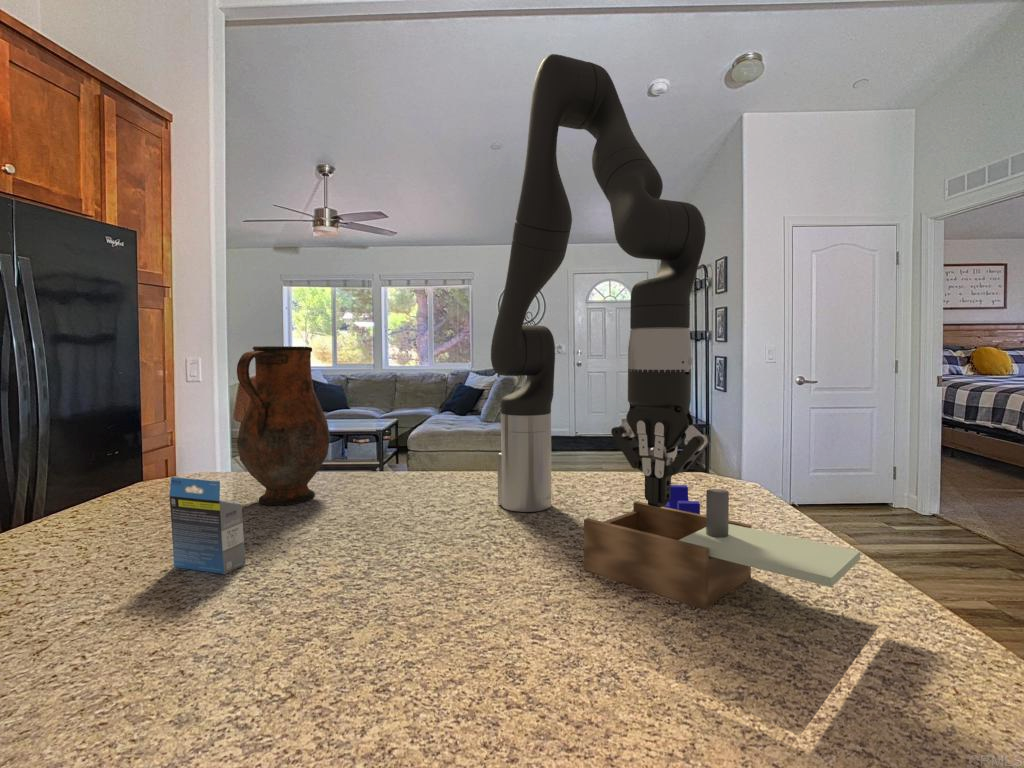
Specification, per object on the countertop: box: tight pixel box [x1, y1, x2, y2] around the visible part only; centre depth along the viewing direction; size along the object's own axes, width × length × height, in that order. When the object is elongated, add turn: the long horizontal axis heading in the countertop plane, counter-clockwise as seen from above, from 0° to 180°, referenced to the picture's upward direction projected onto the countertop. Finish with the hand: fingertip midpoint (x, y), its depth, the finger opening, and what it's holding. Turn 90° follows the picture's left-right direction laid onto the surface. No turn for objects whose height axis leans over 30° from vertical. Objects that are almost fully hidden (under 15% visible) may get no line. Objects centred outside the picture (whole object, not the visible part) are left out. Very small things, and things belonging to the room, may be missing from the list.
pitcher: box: [236, 345, 331, 506], centre depth 108 cm, size 17×21×30 cm
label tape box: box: [169, 475, 246, 575], centre depth 75 cm, size 9×4×12 cm, turn 71°
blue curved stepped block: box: [663, 484, 701, 514], centre depth 89 cm, size 12×4×6 cm, turn 172°
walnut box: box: [583, 501, 752, 611], centre depth 70 cm, size 16×12×7 cm
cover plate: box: [679, 488, 861, 588], centre depth 61 cm, size 15×10×6 cm, turn 45°
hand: (657, 505), depth 70 cm, fingers closed
